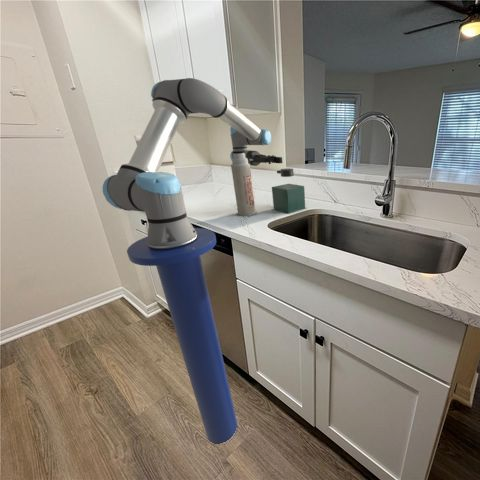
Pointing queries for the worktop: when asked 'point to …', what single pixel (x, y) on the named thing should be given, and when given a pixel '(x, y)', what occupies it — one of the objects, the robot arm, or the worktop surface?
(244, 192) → the thermos bottle
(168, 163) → the display case
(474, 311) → the worktop surface
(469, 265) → the worktop surface
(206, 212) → the worktop surface
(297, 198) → the dark teal foam cube
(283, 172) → the nozzle
